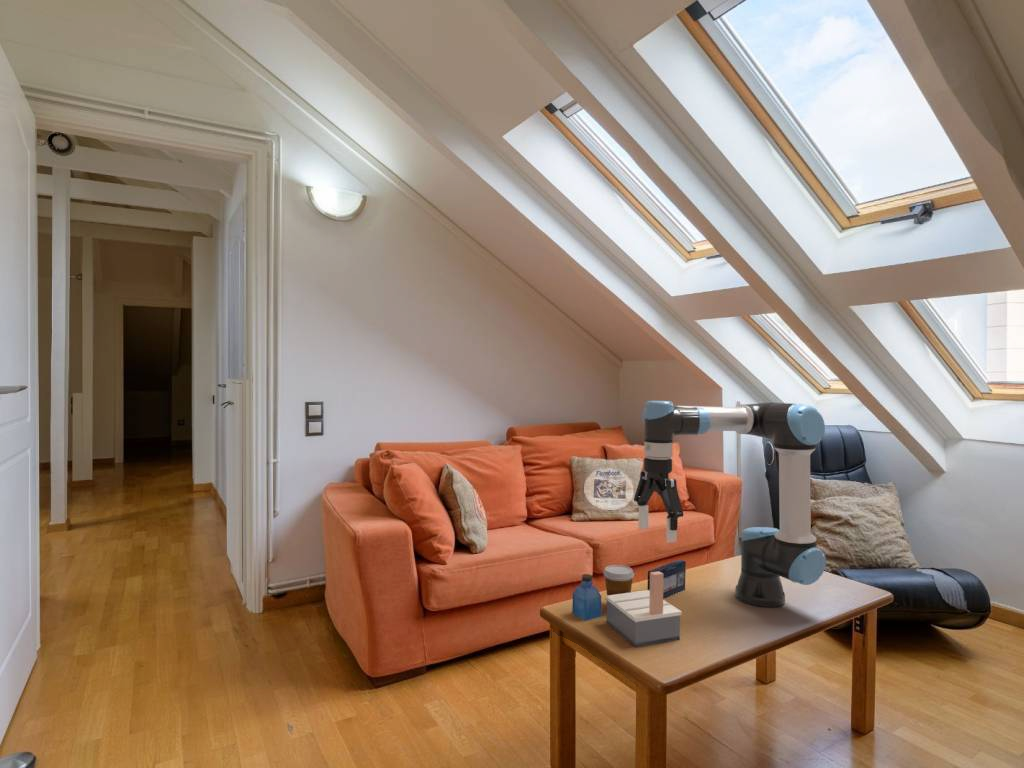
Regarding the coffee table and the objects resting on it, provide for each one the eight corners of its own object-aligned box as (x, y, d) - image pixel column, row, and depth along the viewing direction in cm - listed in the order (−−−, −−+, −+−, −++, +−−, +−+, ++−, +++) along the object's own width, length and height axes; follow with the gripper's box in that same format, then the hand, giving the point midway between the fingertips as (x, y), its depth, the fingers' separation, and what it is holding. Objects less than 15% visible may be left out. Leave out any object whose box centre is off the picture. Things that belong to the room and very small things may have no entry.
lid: (648, 596, 177) (648, 553, 177) (681, 618, 161) (682, 571, 161) (605, 602, 172) (606, 558, 172) (635, 625, 156) (635, 577, 156)
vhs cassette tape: (653, 603, 187) (653, 572, 187) (645, 600, 189) (646, 570, 189) (686, 590, 198) (687, 561, 198) (679, 588, 201) (679, 559, 201)
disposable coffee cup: (596, 607, 183) (597, 569, 183) (614, 599, 190) (615, 562, 190) (622, 616, 177) (622, 577, 176) (639, 607, 183) (640, 569, 183)
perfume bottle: (572, 613, 179) (572, 574, 178) (588, 609, 182) (588, 571, 182) (584, 620, 173) (585, 580, 173) (601, 616, 176) (601, 577, 176)
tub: (647, 616, 177) (648, 593, 176) (679, 639, 161) (679, 614, 161) (606, 622, 172) (606, 599, 172) (635, 647, 157) (635, 621, 157)
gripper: (622, 451, 170) (621, 524, 170) (673, 465, 146) (671, 549, 147) (645, 451, 172) (644, 522, 173) (698, 463, 149) (696, 546, 149)
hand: (656, 535), depth 160 cm, fingers open, 13 cm apart
